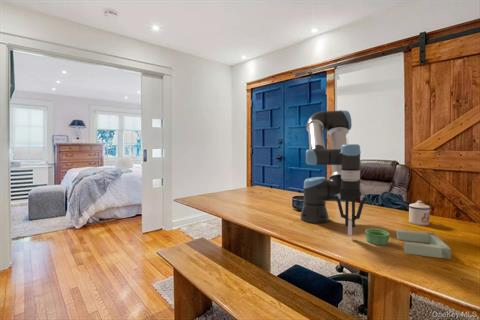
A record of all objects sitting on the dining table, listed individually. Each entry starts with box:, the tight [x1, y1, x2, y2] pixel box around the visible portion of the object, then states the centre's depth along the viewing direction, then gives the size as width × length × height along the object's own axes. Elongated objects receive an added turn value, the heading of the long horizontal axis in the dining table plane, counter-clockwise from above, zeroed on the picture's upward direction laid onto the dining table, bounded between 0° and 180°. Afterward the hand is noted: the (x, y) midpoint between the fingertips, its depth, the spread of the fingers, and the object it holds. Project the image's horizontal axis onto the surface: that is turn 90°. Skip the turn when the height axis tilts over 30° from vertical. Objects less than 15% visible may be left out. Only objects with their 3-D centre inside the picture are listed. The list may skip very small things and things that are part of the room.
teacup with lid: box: [408, 200, 431, 226], centre depth 131 cm, size 12×9×12 cm
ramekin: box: [364, 228, 391, 246], centre depth 105 cm, size 9×9×4 cm
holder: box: [396, 229, 452, 260], centre depth 99 cm, size 14×18×4 cm
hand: (349, 234), depth 109 cm, fingers closed
